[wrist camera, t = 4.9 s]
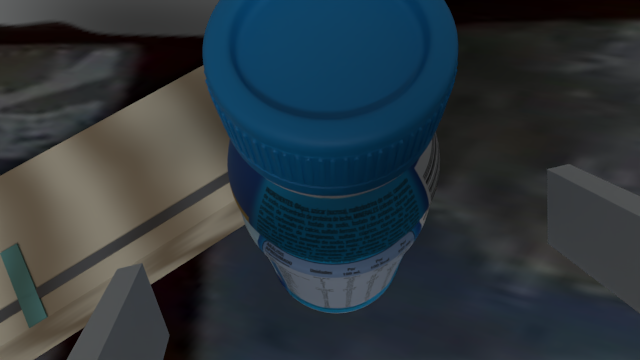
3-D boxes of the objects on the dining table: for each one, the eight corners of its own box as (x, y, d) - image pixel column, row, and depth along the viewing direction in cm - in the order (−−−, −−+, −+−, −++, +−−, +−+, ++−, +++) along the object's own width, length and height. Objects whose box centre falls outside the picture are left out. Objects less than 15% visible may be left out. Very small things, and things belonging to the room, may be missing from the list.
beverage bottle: (329, 347, 27) (308, 263, 9) (245, 244, 30) (101, 24, 12) (428, 255, 29) (573, 38, 11) (340, 168, 32) (341, -120, 14)
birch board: (288, 58, 36) (282, 20, 33) (363, 148, 33) (366, 116, 29) (-61, 256, 31) (-117, 238, 27) (-17, 391, 27) (-75, 392, 23)
